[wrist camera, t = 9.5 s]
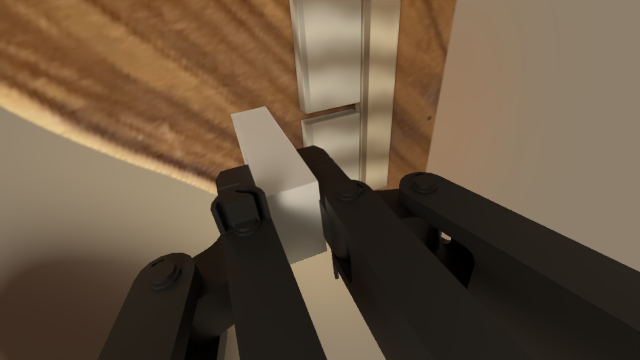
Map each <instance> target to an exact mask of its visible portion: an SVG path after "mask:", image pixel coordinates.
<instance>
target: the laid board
mask: <svg viewBox="0 0 640 360" xmlns="http://www.w3.org/2000/svg"><path fill="white" fill-rule="evenodd" d="M400 5H401V0H362V4H361V71H360V102H358V103H355V110H356V111H358V112H360V138H359V181H362V182H364V183H366V184H367V185H368V186H370V187H371V188H372V190H377V189H380V188H384V187H387V176H388V163H389V149H390V136H391V123H392V110H393V97H394V84H395V71H396V57H397V44H398V31H399V18H400Z"/></svg>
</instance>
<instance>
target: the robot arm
mask: <svg viewBox="0 0 640 360" xmlns="http://www.w3.org/2000/svg"><path fill="white" fill-rule="evenodd" d="M231 116H232V120H233V123H234V127H235V130H236V134H237V137H238V141H239V144H240V148H241V151H242V155H243V158H244V162H245V165H243V166H239V167H235V168H232V169H228V170H224V171H221V172H220V173H219V175H218V177H217V179H216V186H217V193H218V196H217V197H216V198H215V200H214V201H213V202H212V204H211V209H210V210H211V212H212V215H213V217H214V219H215V222H216V224H217V227H218V229H219V232H220V234H221V235H220V237H219V238H218V239H217V241H216V242H215V243H214V244H213V245H212V246H210V247H209V248H208V249H206V250H205V251H203V252H201V253H200V254H198V255H196V256H195V257H193V258H191V256H190V255H187V254H185V253H171V254H168V255H165V256H161V257H159V258H157V259H156V260H154V261H152V262H150V263H149V264H148V265H147V266H146V267H145V268H144V269H142V270H141V271H140V273H139V274H138V275H137V277H136V279H135V280H134V282H133V284H132V286H131V288H130V291H129V293H128V295H127V297H126V299H125V301H124V303H123V306H122V308H121V310H120V312H119V314H118V317H117V319H116V321H115V323H114V325H113V327H112V329H111V332H110V334H109V336H108V338H107V340H106V343H105V345H104V347H103V349H102V351H101V353H100V356H99V358H98V360H224V356H225V348H226V340H227V329H228V328H230V327H231V326H232V325H234V324H235V330H236V337H237V343H238V350H239V356H240V360H327V358H326V356H325V353H324V351H323V348H322V346H321V343H320V340H319V338H318V336H317V333H316V330H315V328H314V325H313V323H312V320H311V318H310V315H309V312H308V310H307V307H306V305H305V302H304V300H303V297H302V295H301V292H300V289H299V287H298V284H297V282H296V279H295V277H294V274H293V272H292V269H291V266H290V264H293V263H296V262H298V261H301V260H304V259H306V258H309V257H312V256H315V255H317V254H320V253H323V252H325V251H327V248H326V241H327V243H328V245H329V246H330V248H331V252H332V260H333V269H334V275H335V279H338V278H339V275H338V272H339V274H340V276H341V278H342V280H343V281H344V283H345V285H346V287H347V289H348V290H349V292H350V294H351V296H352V298H353V300H354V302H355V303H356V305H357V307H358V309H359V311H360V313H361V314H362V316H363V318H364V320H365V322H366V324H367V325H368V327H369V329H370V331H371V333H372V335H373V336H374V338H375V340H376V342H377V344H378V346H379V348H380V349H381V351H382V353H383V355H384V357H385V359H386V360H640V272H639V271H636V270H635V269H632V268H630V267H628V266H626V265H624V264H622V263H620V262H618V261H616V260H614V259H611V258H609V257H607V256H605V255H603V254H601V253H599V252H597V251H595V250H593V249H591V248H589V247H587V246H584V245H582V244H580V243H578V242H576V241H574V240H572V239H570V238H568V237H566V236H563V235H561V234H559V233H557V232H555V231H553V230H551V229H549V228H547V227H545V226H543V225H540V224H538V223H536V222H534V221H532V220H530V219H528V218H526V217H524V216H522V215H520V214H517V213H516V212H513V211H512V210H509V209H507V208H505V207H503V206H501V205H499V204H497V203H495V202H493V201H491V200H489V199H487V198H484V197H482V196H480V195H478V194H476V193H474V192H472V191H470V190H468V189H466V188H464V187H461V186H459V185H457V184H455V183H453V182H451V181H449V180H447V179H445V178H443V177H441V176H438V175H435V174H432V173H426V172H416V173H411V174H408V175H405V176H404V177H403V178H402V179H401V180H400V184H399V189H391V190H372V188H371V187H370V186H368V185H367V184H366V183H364V182H362V181H358V180H351V179H350V178H349V177H348V176H347V175H346V174H345V173H344V171H343V170H342V169H341V168H340V167H339V166H338V165H337V164H336V162H334V160H333V159H332V158H331V157H330V156H329V154H328V153H327V152H326V151H325V150H324V149H322V148H320V147H317V146H315V145H312V146H308V147H305V148H301V149H297V150H296V149H295V148H294V147H293V145H292V144H291V142H290V141H289V139H288V138H287V137H286V135H285V134H284V132H283V131H282V130H281V128H280V127H279V125H278V124H277V122H276V121H275V120H274V118H273V117H272V115H271V114H270V113H269V111H268V110H267V108H266V107H261V108H256V109H252V110H248V111H243V112H239V113H235V114H231ZM442 232H443V233H445V234H446V235H448V236H449V237H451V240H446V239H444V238H442V237H441V235H442ZM325 239H326V240H325Z"/></svg>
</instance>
